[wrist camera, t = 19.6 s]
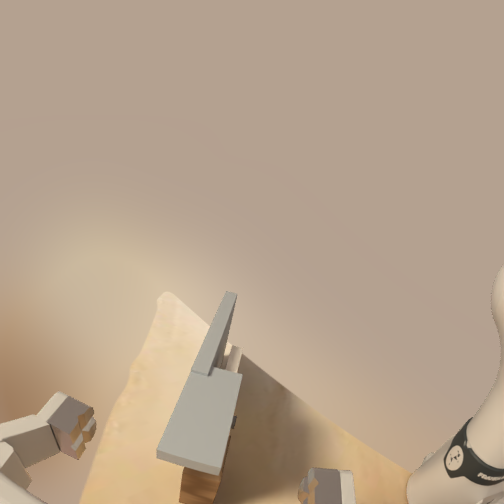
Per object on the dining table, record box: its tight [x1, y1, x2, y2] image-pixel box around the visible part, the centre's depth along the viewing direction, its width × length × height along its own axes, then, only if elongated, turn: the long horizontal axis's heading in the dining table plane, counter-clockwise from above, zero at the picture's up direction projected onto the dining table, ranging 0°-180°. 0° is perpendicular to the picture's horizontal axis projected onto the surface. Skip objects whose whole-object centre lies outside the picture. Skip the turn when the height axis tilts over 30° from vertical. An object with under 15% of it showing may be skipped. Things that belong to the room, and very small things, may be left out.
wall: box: [157, 291, 243, 476], centre depth 41 cm, size 6×34×15 cm, turn 173°
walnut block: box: [179, 436, 231, 504], centre depth 31 cm, size 4×7×9 cm, turn 173°
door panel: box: [225, 346, 243, 429], centre depth 40 cm, size 3×14×12 cm, turn 173°
